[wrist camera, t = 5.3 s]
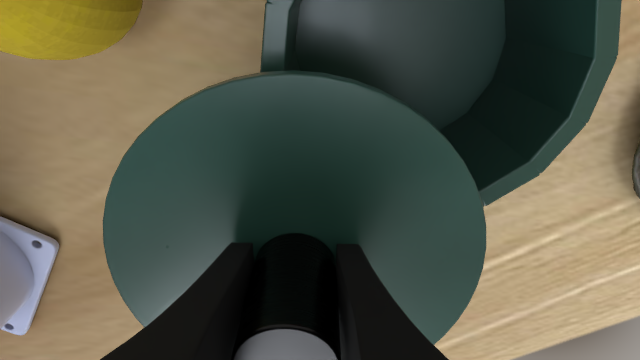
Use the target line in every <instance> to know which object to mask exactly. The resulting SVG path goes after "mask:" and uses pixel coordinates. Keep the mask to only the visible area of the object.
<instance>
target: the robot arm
mask: <svg viewBox="0 0 640 360" xmlns="http://www.w3.org/2000/svg"><path fill="white" fill-rule="evenodd" d="M37 241H39V242H40V243H41V244H40V243H38V242H37ZM58 250H59V244H58V242H57V241H56V240H55V239H53V238H51V237H49V236H46V235H44V234H41V233H39V232H37V231H34V230H32V229H30V228H27V227H25V226H23V225H20V224H18V223H15V222H13V221H11V220H8V219H6V218H4V217H1V216H0V329H2V330H5V331H8V332H10V333H13V334H16V335H24V334H25V333H26V332H27V331H28V330H29V329H30V326H31V323H32V320H33V318H34V315H35V312H36V310H37V307H38V304H39V301H40V299H41V296H42V293H43V291H44V288H45V285H46V282H47V280H48V277H49V274H50V272H51V269H52V266H53V263H54V261H55V258H56V255H57V253H58ZM253 267H254V254H253V243H234V242H231V243H230V244H229V245H228V246H227V247H226V248H225V249H224V251H223V252H222V253H221V254H220V255H219V256H218V257H217V258H216V260H215V261H214V262H213V263H212V264H211V265H210V266H209V267H208V268H207V269H206V271H205V272H204V273H203V274H202V275H201V276H200V277H199V278H198V279H197V280H196V281H195V282H194V283H193V284H192V285H191V286H190V287H189V288H188V289H187V290H186V291H185V292H184V293H183V294H182V295H181V296H180V297H179V298H178V299H177V300H176V301H174V302H173V303H172V304H171V305H170V306H169V307H168V308H167V309H166V310H165V311H164V312H163V313H161V314H160V315H159V316H158V317H157V318H156V319H154V320H153V321H152V322H151V323H150V324H148V325H147V326H146V327H145V328H143V329H142V330H141V331H140V332H138V333H137V334H136V335H134V336H133V337H132V338H130V339H129V340H128V341H126V342H125V343H123V344H122V345H121V346H119V347H118V348H116V349H115V350H113V351H112V352H110V353H109V354H107V355H106V356H104V357H103V358H102V359H100V360H231V357H232V352H233V348H234V344H235V340H236V336H237V332H238V327H239V323H240V319H241V315H242V311H243V307H244V303H245V299H246V295H247V291H248V287H249V283H250V279H251V275H252V271H253ZM336 279H337V295H338V311H339V329H340V347H341V360H449V359H447V358H446V357H445V356H444V355H443V354H442V353H441V352H440V351H439V350H438V349H437V348H436V347H435V346H434V345H433V344H432V343H431V342H430V341H429V340H428V339H427V338H426V337H425V336H424V334H423V333H422V332H421V331H420V330H419V329H418V328H417V327H416V326H415V325H414V323H413V322H412V321H411V320H410V319H409V318H408V316H407V315H406V314H405V313H404V311H403V310H402V309H401V308H400V306H399V305H398V304H397V303H396V301H395V300H394V299H393V297H392V296H391V295H390V293H389V292H388V290H387V289H386V287H385V286H384V285H383V283H382V282H381V280H380V279H379V277H378V276H377V274H376V273H375V271H374V269H373V268H372V266H371V264H370V263H369V261H368V259H367V257H366V255H365V254H364V252H363V250H362V248H361V246H360V245H359V244H337V251H336Z"/></svg>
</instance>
